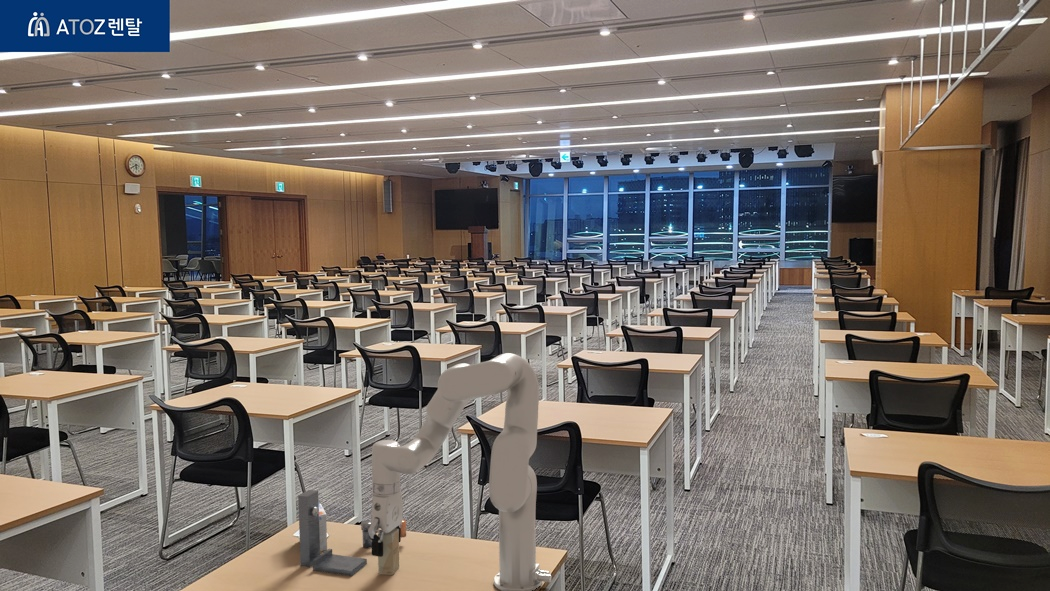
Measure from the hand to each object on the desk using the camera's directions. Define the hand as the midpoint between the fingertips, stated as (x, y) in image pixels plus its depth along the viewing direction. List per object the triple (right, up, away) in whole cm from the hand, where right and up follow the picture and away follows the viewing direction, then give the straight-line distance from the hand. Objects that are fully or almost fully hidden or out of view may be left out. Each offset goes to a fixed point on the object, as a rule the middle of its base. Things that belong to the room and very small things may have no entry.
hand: (386, 548), depth 199 cm
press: (-16, -6, +3) cm, 17 cm away
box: (+1, -6, 0) cm, 6 cm away
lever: (-4, -3, +17) cm, 18 cm away
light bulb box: (-25, -6, +18) cm, 31 cm away
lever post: (-9, -5, +17) cm, 20 cm away
